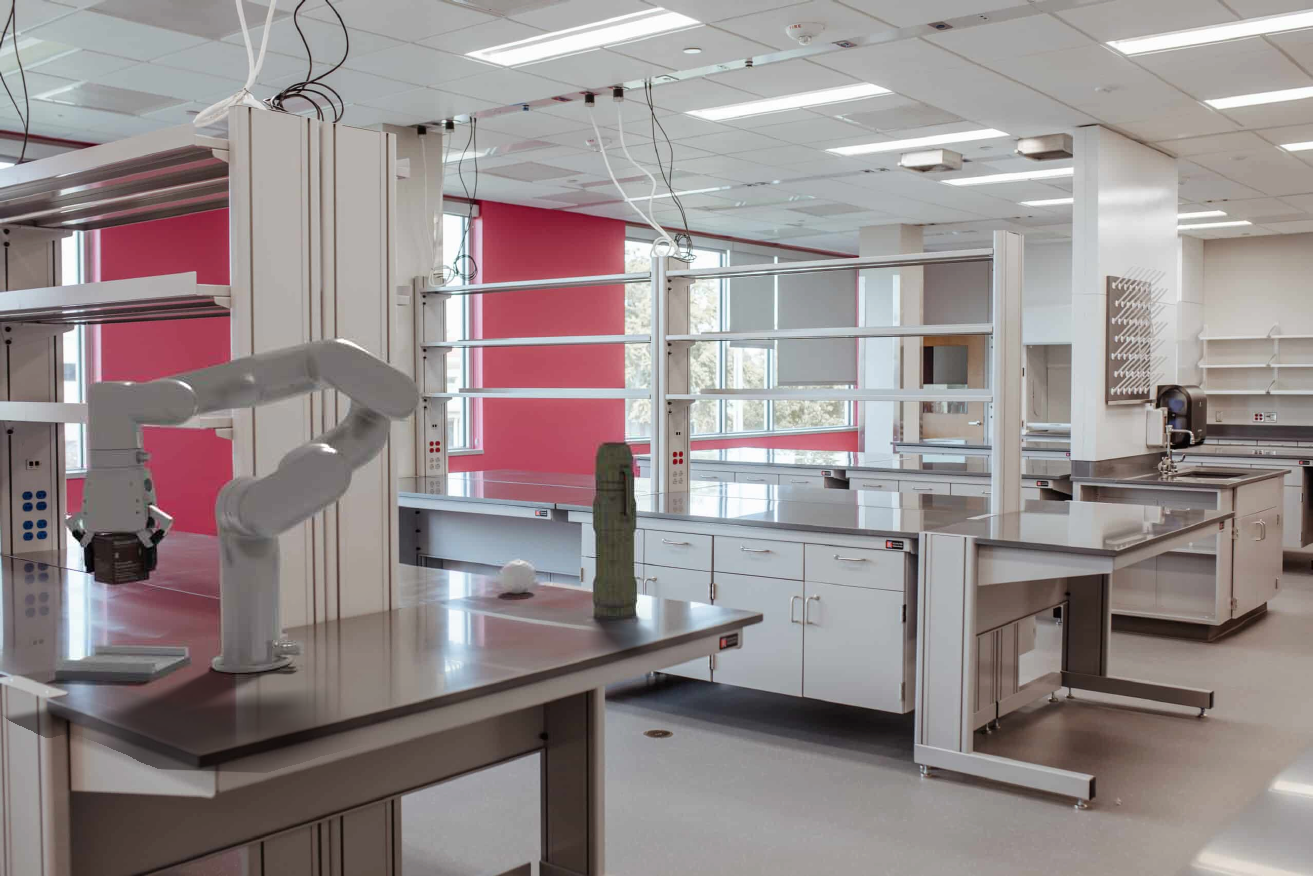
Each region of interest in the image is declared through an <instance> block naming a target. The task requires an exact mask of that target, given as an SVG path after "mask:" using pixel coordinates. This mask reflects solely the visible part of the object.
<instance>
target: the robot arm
mask: <svg viewBox="0 0 1313 876" xmlns="http://www.w3.org/2000/svg"><path fill="white" fill-rule="evenodd" d="M329 389H331V390H333V389H334V390H336V391H337V392H339V393H341V394H343V395H344V396H346V397H348V398H349V399H350V403H349V408H348V412H347V415H346V416H345V417H344V419H342V420H341V422H340V423H338V424H337V425H335V426H334V427H332V428H330V429H328V430H327V431H325V432H323V433H321V434H320V435H318V436H317V437H315V438H313V439H311V440H309V441H308V442H307V441H306V442H305V443H303V444H302V445H299V446H298V447H295V448H293V449H291V450H290V451H288V452H287V453H286V454H285V455H284V456H283V457H282V458H281V459H280V461H279V463H278V465H277V468H276V470H275V471H273V472H272V473H271V474H269V475H267V476H265V477H258V476H254V475H243V476H242V475H241V476H238V477H235V478H233V479H231V480H229V481H227V483H225V484H224V485H223V486H222V487H221V489H220V490H219V492H218V494H217V497H216V501H215V509H214V514H215V515H214V516H215V523H216V531H217V538H218V547H219V548H218V549H219V585H220V587H219V590H220V591H219V592H220V594H219V595H220V630H221V631H220V635H221V637H220V638H221V654H220V655H219V654H218V656H216V657H214V658H213V659H212V661H211V668H212V669H214V670H215V671H218V672H222V673H229V674H230V673H231V674H232V673H233V674H237V673H238V674H242V673H243V674H248V673H249V674H250V673H259V672H265V671H266V672H267V671H270V670H275V669H278V668H283V667H285V666H287V665H290V663H291V662H292V661H293V658H292V657H302V656H303V655H304V653H305V646H304V643H303V642H299V641H298V642H296V641H295V642H290V641H289V639H288V638H289V636H288V633H283V629H282V627H283V626H282V583H281V579H282V577H281V576H282V575H281V573H282V572H281V569H282V566H281V564H282V563H281V560H282V559H281V547H280V546H281V545H280V541H279V539H280V538H279V536H281V535H283V534H285V533H287V532H289V531H291V530H292V529H294V528H296V527H298V526H299V525H301V524H303V523H304V522H306V521H307V520H309V519H311V518H313V517H314V516H316V515H317V514H319V513H321V512H323V511H324V510H326V509H327V508H329V507H331V506H332V505H334V504H336V503H337V502H338V501H339V500H341V498H342V497H343V496H344V495H345V494H346V492H347V491H348V489H349V488H350V485H351V483H352V478H353V474H354V473H356V472H357V471H358V470H359V469H361V468H362V467H364V466H366V465H367V464H368V463H370V462H371V461H372V460H374V459H376V457H377V456H379V454H380V453H381V452H382V450H383V449H384V447H385V445H386V443H387V441H388V437H389V435H390V431H391V426H392V422H398V421H403V420H405V419H408V418H409V417H410V416H412V415H413V414H414V413H415V412H416V410H417V409H418V407H419V404H420V400H421V399H420V396H421V395H420V394H421V393H420V390H419V387H418V385H417V383H416V382H415V380H414V379H413V378H412V377H411V376H409V374H407V373H405V371H402V370H400V369H399V368H397V367H395V366H394V365H392V364H390V363H388V362H386V361H385V360H383V359H381V358H379V357H378V356H376V355H374V354H373V353H370V352H369V351H367V350H366V349H364V348H363V347H361V346H358V345H357V344H355V343H353V342H351V341H349V340H346V339H343V338H330V339H329V338H327V339H320V340H319V339H318V340H313V341H308V342H305V343H300V344H296V345H291V346H287V347H283V348H279V349H275V350H270V351H267V352H266V351H265V352H262V353H258V354H252V355H248V356H245V357H244V356H243V357H239V358H236V359H233V360H229V361H226V362H223V363H220V364H216V365H212V366H208V367H203V368H200V369H195V370H190V371H186V372H182V373H177V374H173V375H170V376H164V377H161V378H155V379H152V380H149V381H146V382H134V381H131V380H130V381H129V380H128V381H127V380H125V381H123V380H112V381H111V380H107V381H106V380H105V381H104V380H103V381H94V382H92V383H91V384H90V385H89V386H88V388H87V415H88V416H87V417H88V419H87V420H88V441H89V461H90V462H89V464H90V466H89V467H90V468H89V469H87V470H86V472H85V473H86V474H85V477H84V483H83V490H82V504H81V509H79V510H78V511H76V512H75V513H73V514H72V515H71V516H69V517H68V518H67V519H65V520H64V525H65V526H66V527H67V529H68V530H69V532H70V533H71V536H72V537H73V538H74V539H75V540H76V541H77V542H78V543H79V546H80V548H83V561H84V562H83V563H84V566H85V573H87V574H92V573H93V574H94V556H93V537H94V536H96V535H103V534H113V533H136V534H137V535H138V537H139V538H140V540H141V541H142V542H143V544H144V547H142V548H141V566H142V572H143V573H148V572H149V573H151V572H154V571H156V569H157V565H158V545H159V544H160V543H161V542H162V540H163V539H164V538H165V537H166V536H167V535H168V533H169V531H170V529H171V527H172V526H173V525H174V523H175V520H174V518H173V517H172V516H170V515H169V514H167V513H165V512H164V511H162V510H160V509H159V508H158V504H157V495H156V489H155V485H154V479H153V477H152V472H151V469H150V467H145V464H146V462H151V460H152V456H153V455H152V454H151V452H146V451H145V448H144V430H143V426H144V425H146V426H148V425H149V426H157V427H159V426H160V427H169V428H170V427H171V428H172V427H173V428H174V427H179V426H181V425H185V424H186V423H188V422H189V421H190V420H191V419H193V418H194V417H196V416H201V415H206V414H209V413H213V412H218V411H219V412H220V411H225V410H226V411H227V410H234V409H251V408H256V407H262V406H268V405H272V404H275V403H278V402H282V401H286V400H289V399H293V398H297V397H300V396H304V395H309V394H313V393H316V392H320V391H324V390H329ZM81 522H82V526H81V524H80V523H81ZM158 524H159V526H158ZM157 526H158V528H157V529H156V530H154V529H155V528H156V527H157Z"/></svg>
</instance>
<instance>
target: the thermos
mask: <svg viewBox="0 0 1313 876" xmlns="http://www.w3.org/2000/svg"><path fill="white" fill-rule="evenodd" d="M595 455H596V456H595V471H594V472H595V473H594V475H595V476H594V477H595V496H594V499H593V502H592V529H593V531H594V533H595V534H594V535H595V541H594V542H595V576H594V579H593V582H592V602H593V606H594V608H593V616H594V617H596V618H598V619H603V620H625V619H632V618H634V617H636V616H637V603H638V581H637V579H636V576H635V533H636V530H637V501H636V499H635V473H634V456H633V453H632V450H631V447H630V444H627V443H626V442H624V441H623V442H621V441H619V442H617V441H613V442H611V441H609V442H602V444H599V445H598V449H597V451H596V454H595Z"/></svg>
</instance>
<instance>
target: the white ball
mask: <svg viewBox="0 0 1313 876" xmlns="http://www.w3.org/2000/svg"><path fill="white" fill-rule="evenodd" d="M535 578H536V571H535V568H534V566H533V565H532V564H531V563H530V562H527V561H524V560H521V559H514V560H512V561H510V562H507V563H506V565H504V566H503V567H502V568H501V569H500V570H499V582H500V584H501V586H502V587H503V588H504V590H506V591H508V592H509V593H510V594H511V593H512V594H516V595H517V594H522V593H523V594H524V593H525V592H527V591H529V590H530V589H531V588H532V586H533V585H534V581H535Z"/></svg>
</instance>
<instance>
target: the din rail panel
mask: <svg viewBox="0 0 1313 876" xmlns="http://www.w3.org/2000/svg"><path fill="white" fill-rule="evenodd" d="M94 651H95V652H94V654H93V653H92V654H90V655H88V656H85V657H83V658H80V659H60V660H57V661H56V671H55V672H54V677H55V678H54V679H55V680H61V681H64V680H66V681H96V682H97V681H103V682H107V681H108V682H133V683H134V682H135V683H137V682H139V683H141V682H142V683H151V682H154V681H155V680H157V679H160V678H161V677H164V676H166V675H168V674H170V673H172V672H174V671H176V670H179V669H181V668H183V667H185V666H187V665H189V664H191V656H190V655H189V647H188V646H157V645H156V646H154V645H151V646H150V645H147V646H146V645H112V644H109V645H108V644H98V645H95V646H94Z"/></svg>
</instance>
